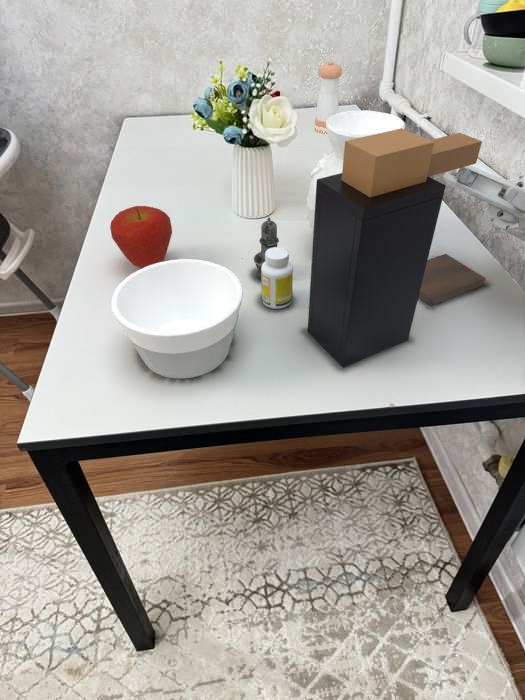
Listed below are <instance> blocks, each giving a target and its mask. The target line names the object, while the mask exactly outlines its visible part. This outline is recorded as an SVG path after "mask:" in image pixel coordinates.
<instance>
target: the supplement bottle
mask: <svg viewBox="0 0 525 700" xmlns="http://www.w3.org/2000/svg"><path fill="white" fill-rule="evenodd" d="M293 274H294V267H293V264H292V263H291V262H290V252H289V250H288V249H287V248H284V247H281V246H277V247H273V248H270V249H268V250H267V251H266V252H265V262H264V263H263V264H262V267H261V279H262V281H261V302H262V303H263V305H264V306H265V307H267V308H270V309H274V310H280V309H284V308H288V306H290V304H291V303H292V300H293V276H294V275H293Z"/></svg>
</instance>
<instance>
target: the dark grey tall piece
mask: <svg viewBox="0 0 525 700" xmlns="http://www.w3.org/2000/svg"><path fill="white" fill-rule="evenodd" d="M277 225H278V224H277V223H276V222H275V221H274V220H272V218H271V217H270V216H268V217H267V218H266V220H265V221H264V222H262V223H261V226H260V234H261V235H260V238H259V240H258V241H259V244H260V251H259V252H257V253H256V254H255V255H254V256H253V262H254V264H255V266H256V268H257V271H256V272H255V278H256V279H257V280H258V281H261V282H262V279H261V267H262V264H263V263H264V262H265V252H266V251H267V250H268V249H270V248H273V247H278V243H280V239H279V237H278V226H277Z"/></svg>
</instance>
